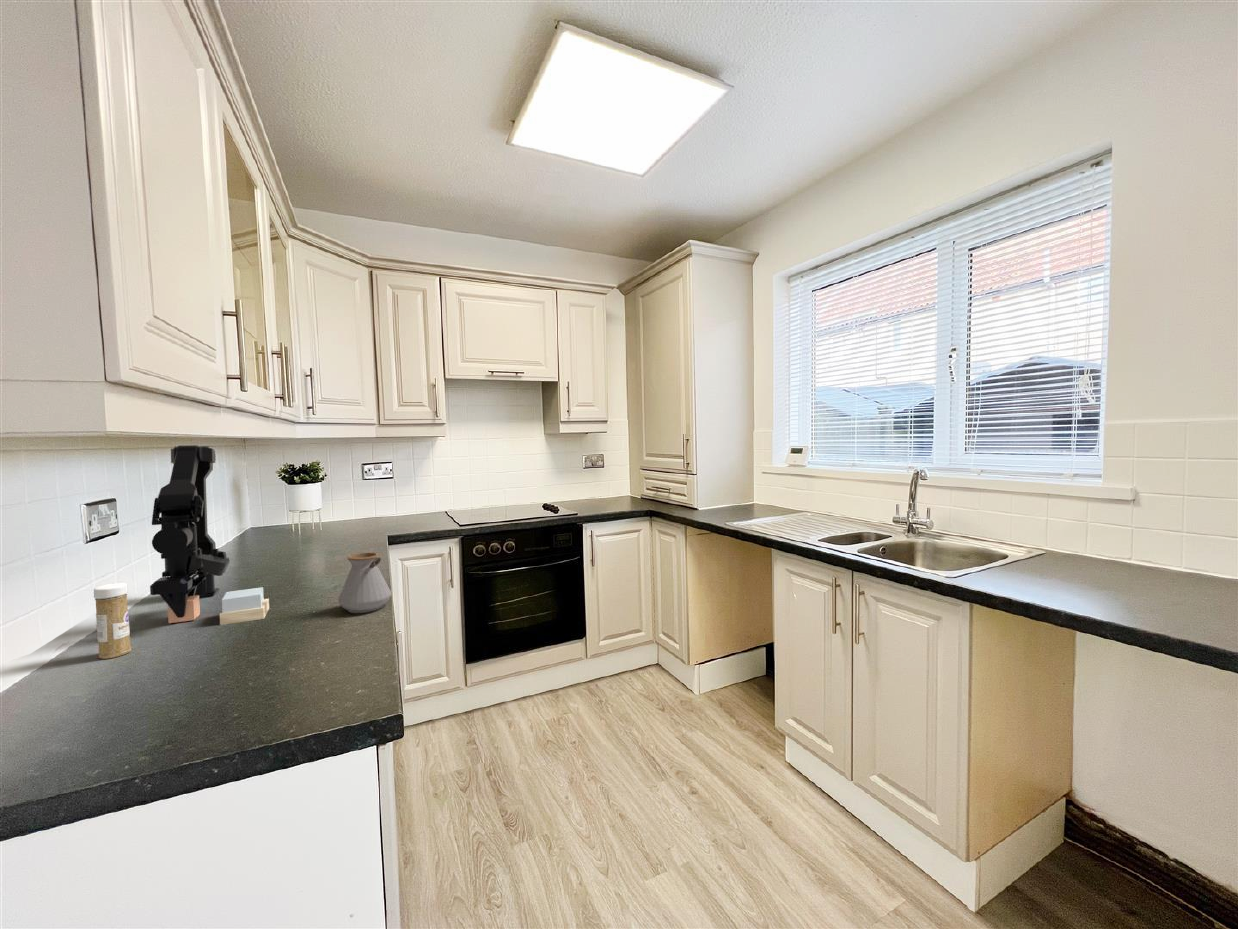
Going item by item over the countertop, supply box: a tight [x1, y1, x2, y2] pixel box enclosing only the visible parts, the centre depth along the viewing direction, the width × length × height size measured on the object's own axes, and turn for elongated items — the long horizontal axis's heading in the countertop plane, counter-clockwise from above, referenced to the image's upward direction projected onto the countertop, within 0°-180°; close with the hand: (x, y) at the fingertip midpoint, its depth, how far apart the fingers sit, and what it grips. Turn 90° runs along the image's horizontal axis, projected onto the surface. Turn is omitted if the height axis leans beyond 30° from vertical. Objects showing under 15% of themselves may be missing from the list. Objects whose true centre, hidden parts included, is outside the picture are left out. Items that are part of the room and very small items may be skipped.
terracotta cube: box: [167, 595, 201, 624], centre depth 115 cm, size 4×4×4 cm
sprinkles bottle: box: [93, 582, 132, 660], centre depth 96 cm, size 5×5×13 cm
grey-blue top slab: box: [221, 586, 265, 613], centre depth 117 cm, size 7×7×3 cm
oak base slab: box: [219, 598, 270, 626], centre depth 117 cm, size 8×8×3 cm
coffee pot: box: [338, 552, 392, 614], centre depth 118 cm, size 21×12×15 cm, turn 39°
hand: (184, 614), depth 115 cm, fingers closed on terracotta cube, 4 cm apart
